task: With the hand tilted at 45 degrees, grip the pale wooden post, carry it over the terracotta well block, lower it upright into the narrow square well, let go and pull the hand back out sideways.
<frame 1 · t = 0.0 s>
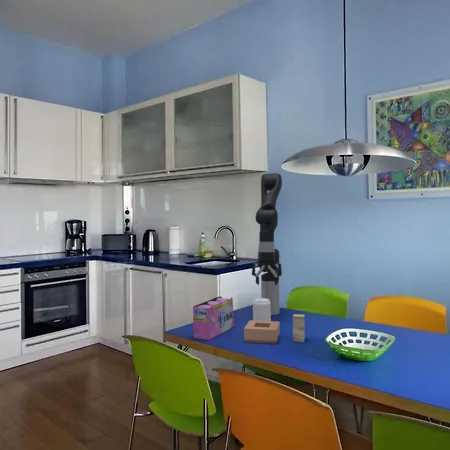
hand: (266, 284, 205), 17 cm above the table, tool pointing down, fingers open, 8 cm apart
beverage can: (262, 325, 197), on the table
gum box: (214, 332, 187), on the table
well: (262, 338, 177), on the table
post: (298, 340, 174), on the table
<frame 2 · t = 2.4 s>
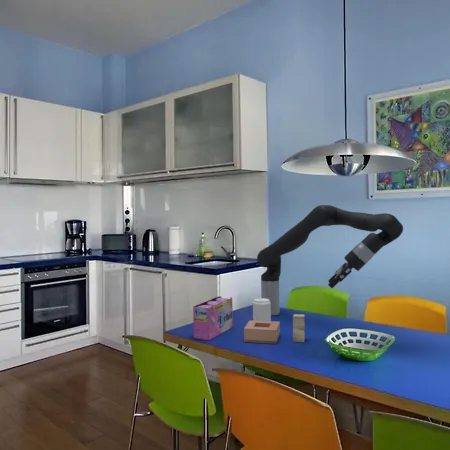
hand: (329, 284, 170), 23 cm above the table, tool tilted 45°, fingers open, 8 cm apart
nothing on the table moved.
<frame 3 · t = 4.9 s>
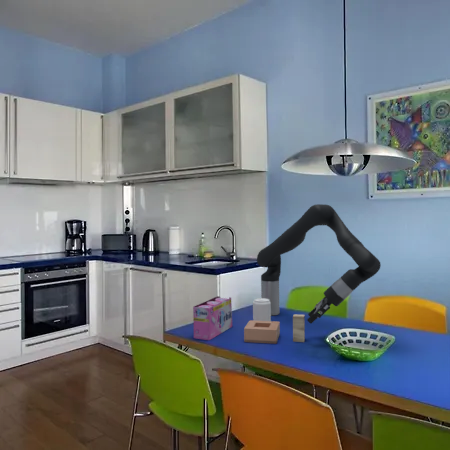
hand: (309, 319, 173), 9 cm above the table, tool tilted 45°, fingers open, 8 cm apart
nothing on the table moved.
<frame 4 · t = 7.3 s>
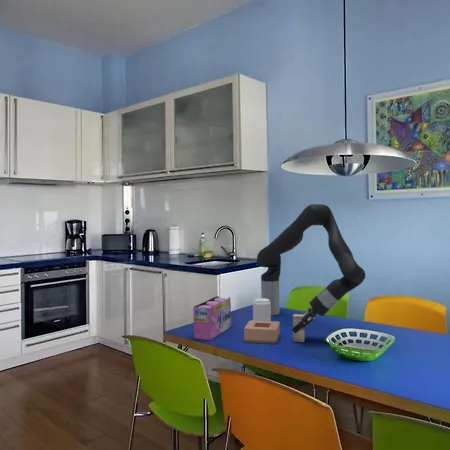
hand: (294, 329, 174), 4 cm above the table, tool tilted 45°, fingers closed on post, 4 cm apart
post: (298, 340, 174), on the table, touching gripper
everything else where it was.
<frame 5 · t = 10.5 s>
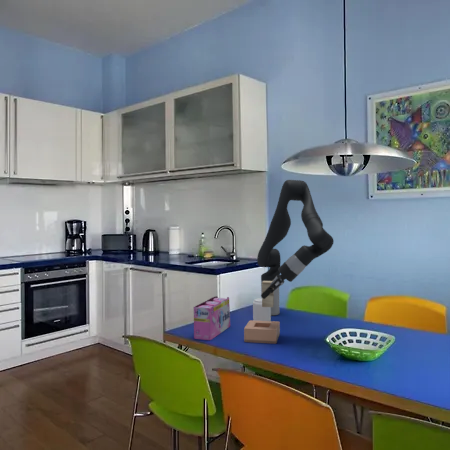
hand: (263, 295, 177), 18 cm above the table, tool tilted 45°, fingers closed on post, 4 cm apart
post: (268, 305, 177), point 14 cm above the table, touching gripper
everything else where it was.
when the fingers open (6 cm above the table, at t = 13.8 s): post drops 1 cm, resting on well.
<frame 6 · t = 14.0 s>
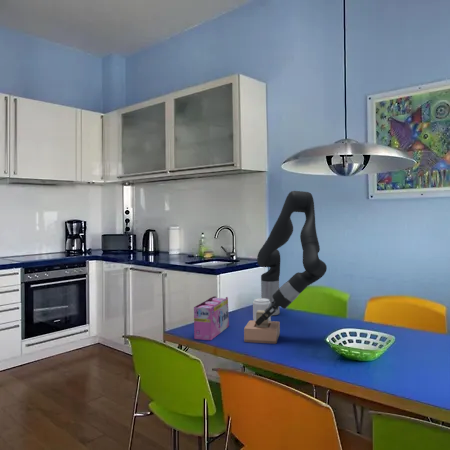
hand: (258, 321, 178), 7 cm above the table, tool tilted 45°, fingers open, 6 cm apart
post: (262, 335, 178), point 1 cm above the table, touching well
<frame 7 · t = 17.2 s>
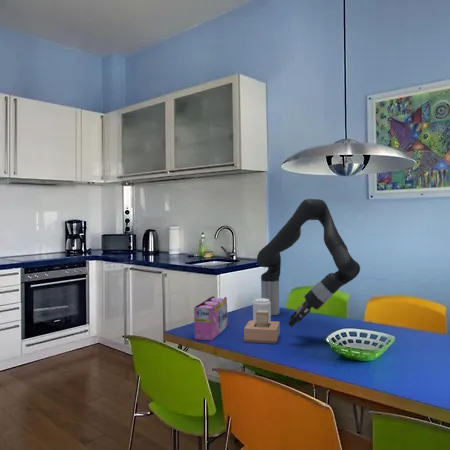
hand: (290, 322, 174), 7 cm above the table, tool tilted 45°, fingers open, 8 cm apart
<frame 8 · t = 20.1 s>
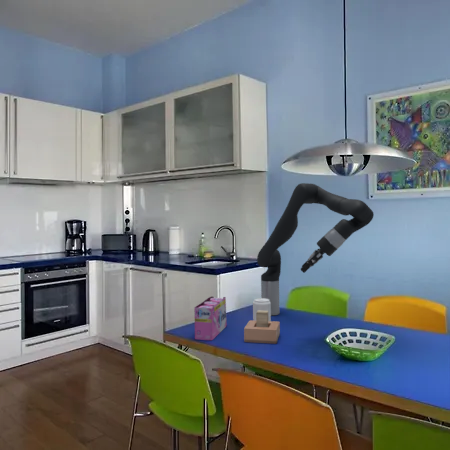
hand: (302, 269, 174), 29 cm above the table, tool tilted 45°, fingers open, 8 cm apart
at the end: post 0.2 cm off-centre on the well, point 1.0 cm above the well's base; post tilted 0°; the gripper is holding nothing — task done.
